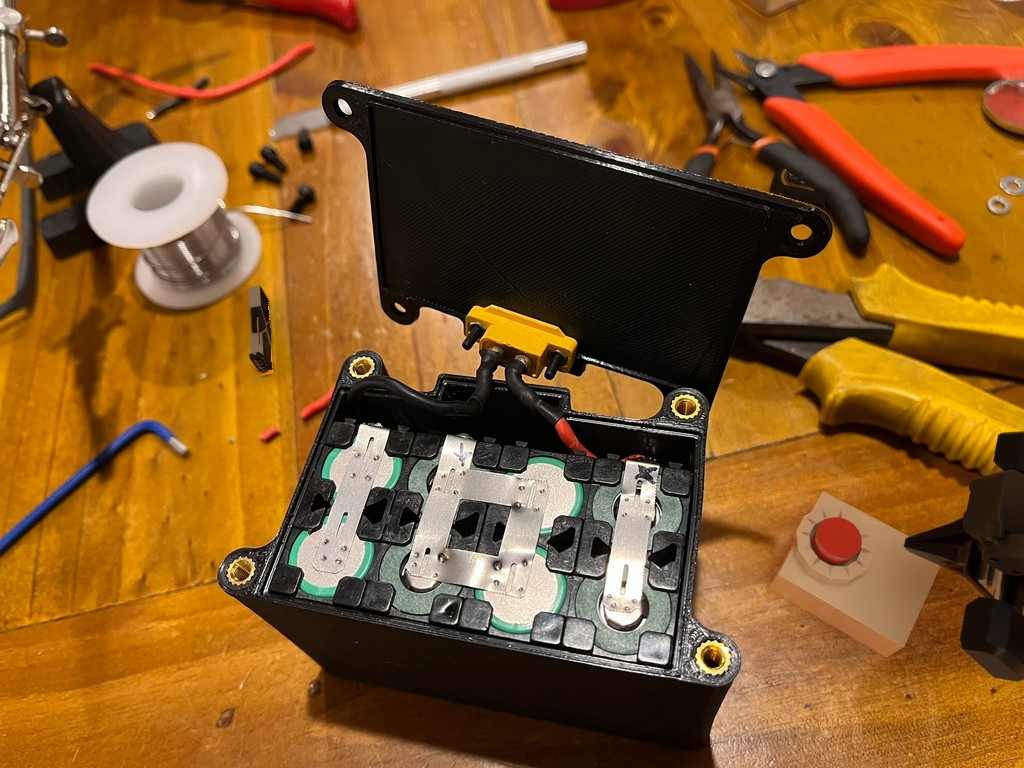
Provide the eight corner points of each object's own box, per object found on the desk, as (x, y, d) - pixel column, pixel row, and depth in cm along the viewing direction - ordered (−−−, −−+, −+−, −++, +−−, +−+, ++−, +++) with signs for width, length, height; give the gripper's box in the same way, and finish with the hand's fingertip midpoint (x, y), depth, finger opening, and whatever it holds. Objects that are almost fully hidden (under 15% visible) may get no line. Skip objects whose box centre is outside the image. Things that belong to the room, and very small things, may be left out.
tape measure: (765, 216, 101) (771, 196, 98) (770, 177, 104) (775, 156, 101) (820, 221, 99) (827, 201, 96) (823, 182, 103) (830, 161, 99)
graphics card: (275, 375, 97) (271, 354, 93) (253, 377, 97) (248, 355, 93) (270, 302, 103) (266, 278, 99) (250, 303, 102) (245, 279, 98)
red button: (863, 537, 73) (869, 531, 71) (846, 572, 71) (851, 567, 70) (823, 515, 74) (827, 509, 73) (804, 549, 73) (809, 543, 71)
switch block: (925, 570, 77) (953, 549, 71) (886, 657, 73) (911, 643, 67) (806, 506, 81) (822, 481, 75) (763, 586, 78) (777, 566, 72)
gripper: (1093, 381, 54) (881, 403, 67) (1060, 631, 47) (828, 603, 60) (1152, 464, 59) (943, 470, 72) (1131, 704, 51) (901, 663, 64)
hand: (906, 545), depth 67 cm, fingers closed
